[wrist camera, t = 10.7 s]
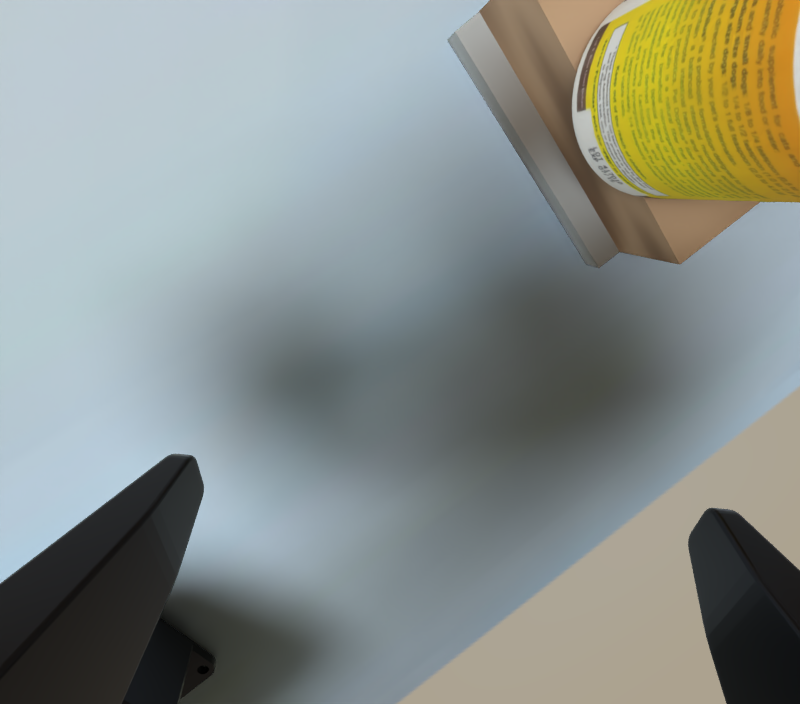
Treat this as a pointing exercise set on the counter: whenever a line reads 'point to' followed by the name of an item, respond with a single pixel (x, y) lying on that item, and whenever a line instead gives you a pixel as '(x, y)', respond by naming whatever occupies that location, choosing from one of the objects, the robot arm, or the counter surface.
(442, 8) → the counter surface
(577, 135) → the supplement bottle
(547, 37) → the block
